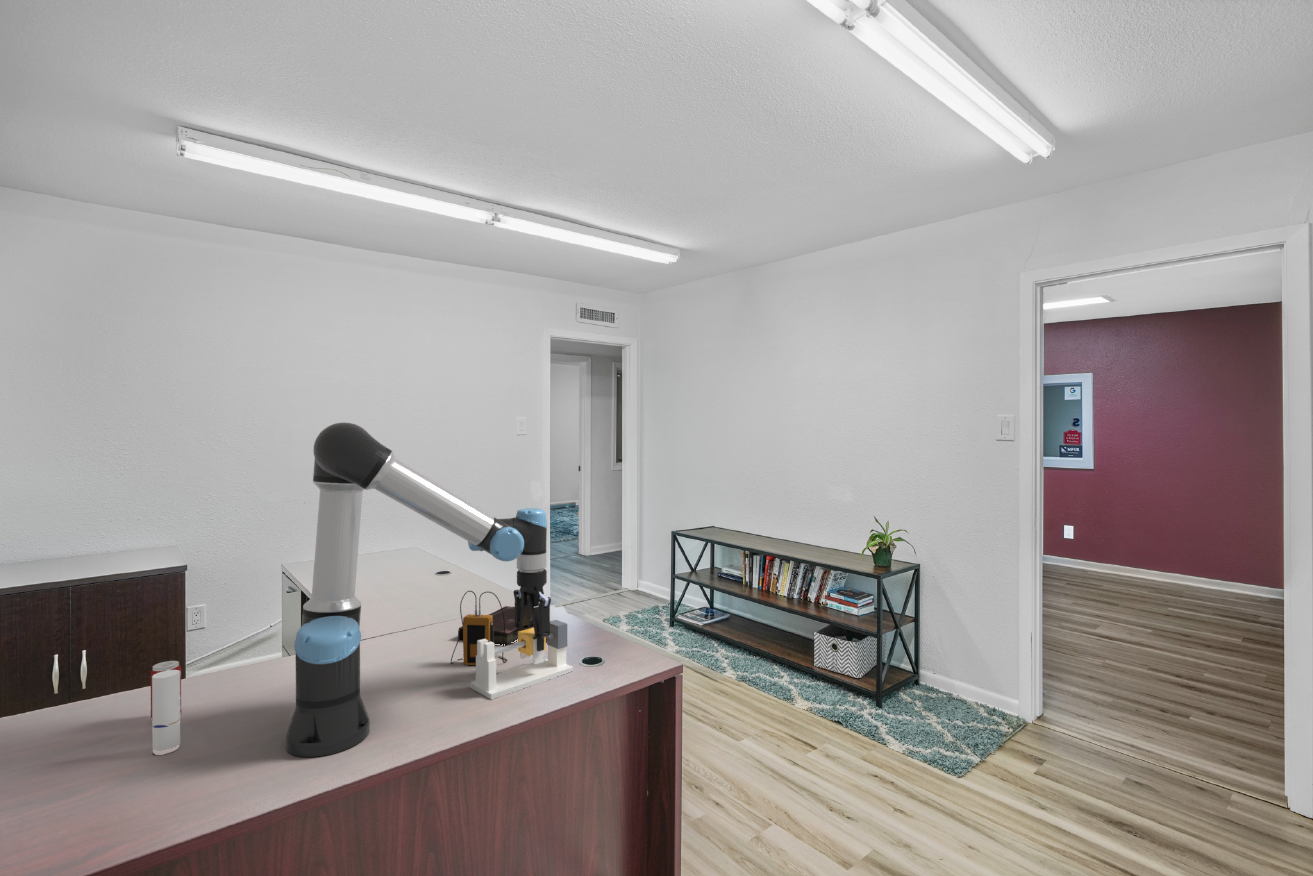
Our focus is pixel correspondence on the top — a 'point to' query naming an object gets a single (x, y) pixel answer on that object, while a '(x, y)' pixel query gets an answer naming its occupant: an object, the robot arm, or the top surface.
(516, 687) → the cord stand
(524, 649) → the cube with square hole
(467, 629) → the multimeter
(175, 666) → the soda can
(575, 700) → the top surface
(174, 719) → the tube
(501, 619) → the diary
